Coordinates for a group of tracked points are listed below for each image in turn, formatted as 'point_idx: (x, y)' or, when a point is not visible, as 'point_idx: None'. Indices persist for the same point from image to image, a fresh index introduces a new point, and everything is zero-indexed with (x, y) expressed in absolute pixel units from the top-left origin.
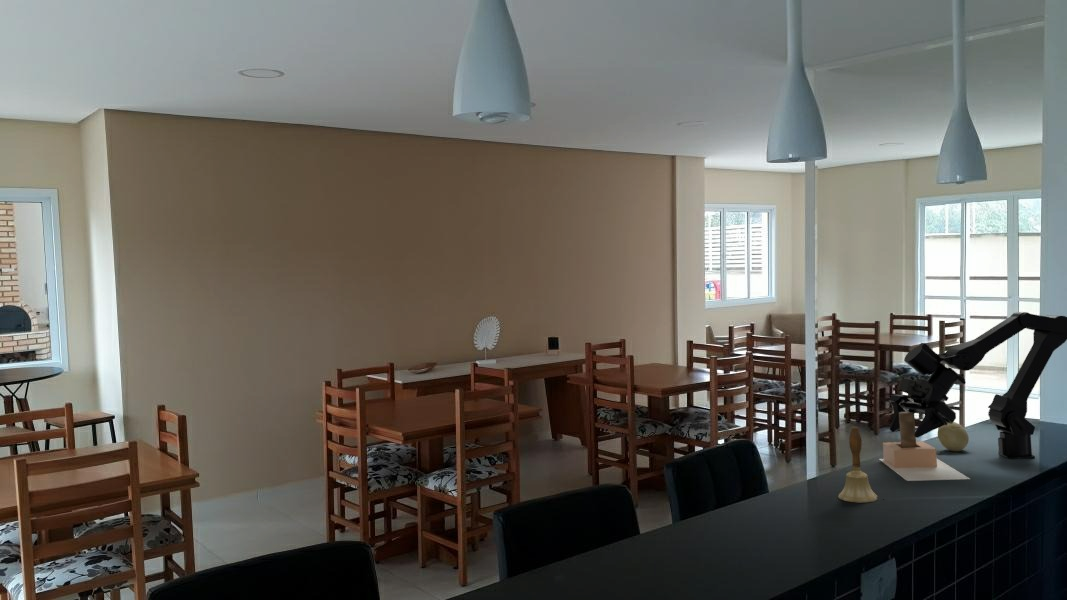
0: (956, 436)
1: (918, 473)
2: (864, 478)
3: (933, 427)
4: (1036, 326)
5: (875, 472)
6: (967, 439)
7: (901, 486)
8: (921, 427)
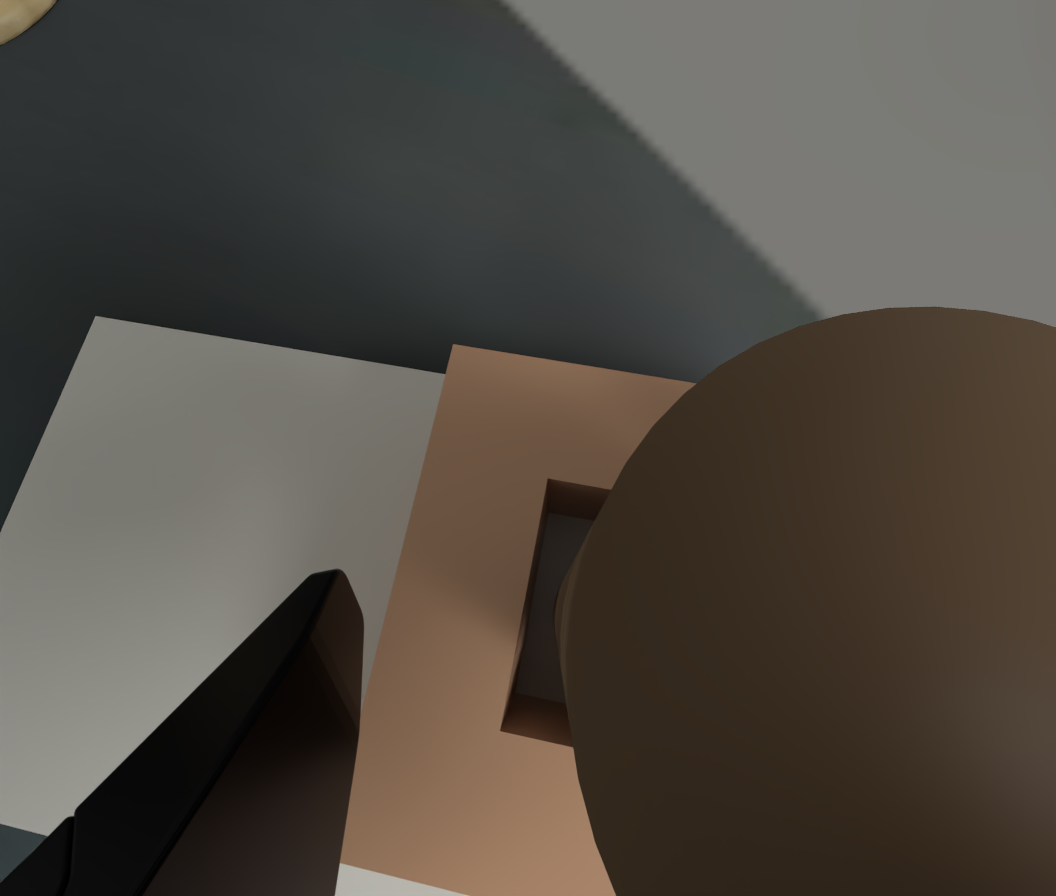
0: None
1: (241, 490)
2: None
3: None
4: None
5: (466, 265)
6: None
7: (52, 255)
8: (165, 733)
